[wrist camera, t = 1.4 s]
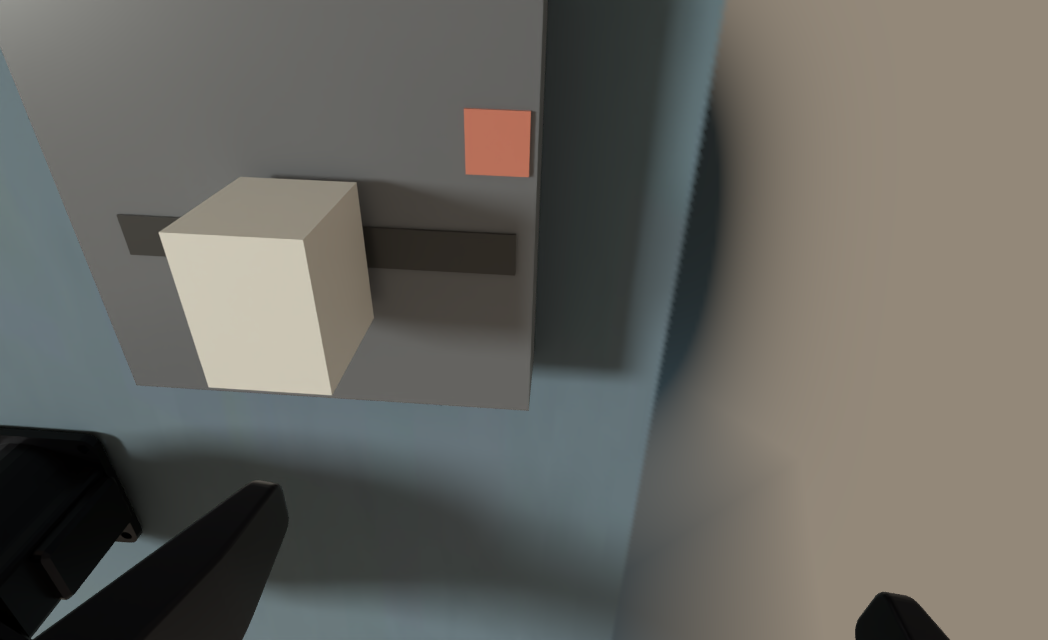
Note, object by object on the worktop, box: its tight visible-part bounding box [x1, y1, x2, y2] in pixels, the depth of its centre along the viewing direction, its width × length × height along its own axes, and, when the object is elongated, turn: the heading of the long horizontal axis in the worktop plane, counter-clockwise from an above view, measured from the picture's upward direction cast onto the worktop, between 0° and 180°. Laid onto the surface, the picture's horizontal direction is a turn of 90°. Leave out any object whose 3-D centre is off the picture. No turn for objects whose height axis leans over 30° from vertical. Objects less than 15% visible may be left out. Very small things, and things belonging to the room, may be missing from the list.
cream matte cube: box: [159, 177, 374, 395], centre depth 15 cm, size 3×4×4 cm
